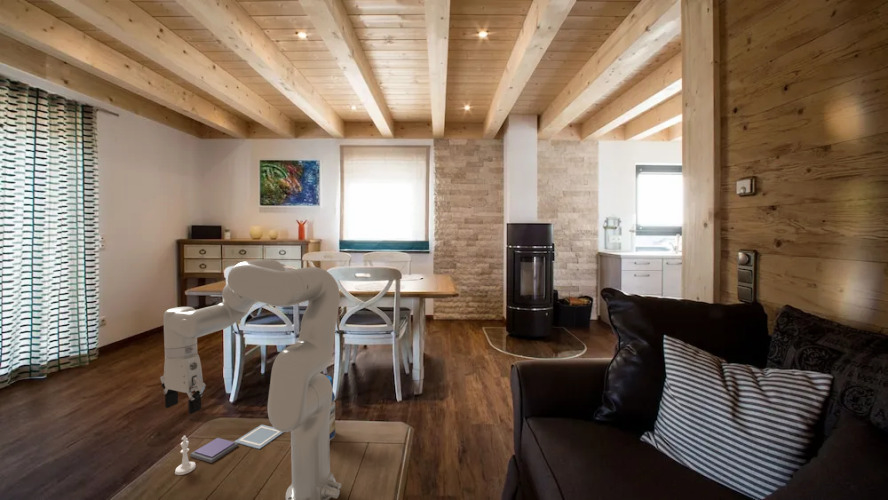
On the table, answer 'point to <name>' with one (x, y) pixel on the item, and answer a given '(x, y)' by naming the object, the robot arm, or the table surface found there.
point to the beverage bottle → (332, 413)
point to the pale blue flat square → (259, 437)
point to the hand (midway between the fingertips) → (183, 408)
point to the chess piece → (185, 459)
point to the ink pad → (214, 450)
